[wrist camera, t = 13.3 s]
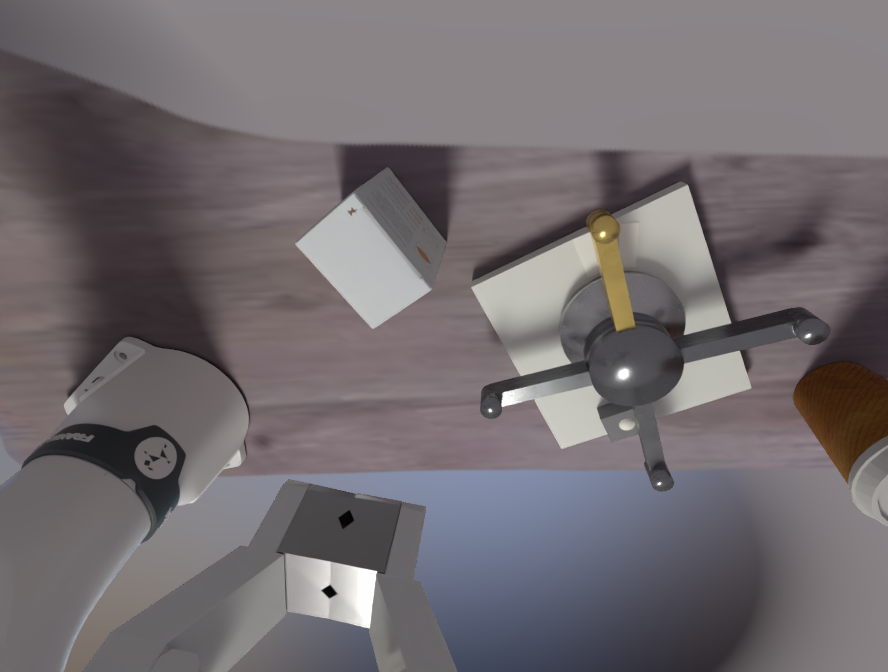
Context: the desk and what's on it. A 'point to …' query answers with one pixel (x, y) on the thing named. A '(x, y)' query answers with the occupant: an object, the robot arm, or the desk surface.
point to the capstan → (638, 343)
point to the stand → (574, 264)
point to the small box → (376, 249)
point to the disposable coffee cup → (851, 428)
